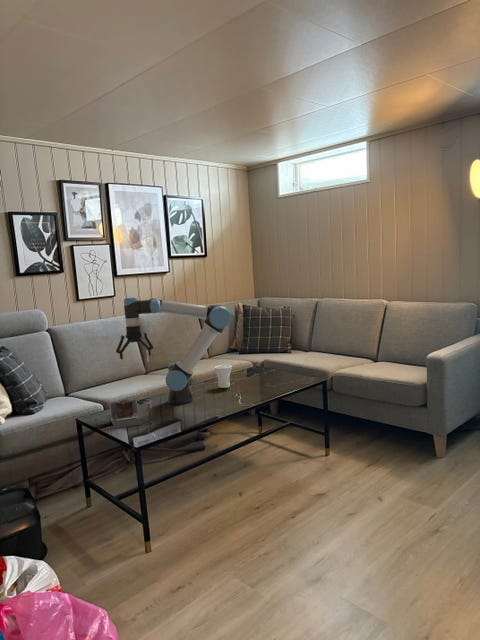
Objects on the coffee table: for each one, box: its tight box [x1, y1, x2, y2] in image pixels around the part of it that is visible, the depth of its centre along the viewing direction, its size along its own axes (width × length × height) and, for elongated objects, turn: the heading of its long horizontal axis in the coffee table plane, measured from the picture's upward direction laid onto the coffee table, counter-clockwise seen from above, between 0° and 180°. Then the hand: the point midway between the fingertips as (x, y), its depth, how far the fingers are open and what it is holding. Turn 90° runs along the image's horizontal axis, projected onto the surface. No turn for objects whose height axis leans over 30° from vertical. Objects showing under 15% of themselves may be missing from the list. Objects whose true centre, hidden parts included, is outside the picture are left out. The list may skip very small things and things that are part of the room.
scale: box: [109, 398, 142, 429], centre depth 243 cm, size 13×14×10 cm
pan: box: [115, 412, 137, 421], centre depth 242 cm, size 10×9×1 cm
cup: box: [214, 364, 233, 389], centre depth 305 cm, size 11×11×14 cm
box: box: [115, 399, 133, 417], centre depth 242 cm, size 6×6×7 cm
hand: (136, 363), depth 263 cm, fingers open, 13 cm apart
